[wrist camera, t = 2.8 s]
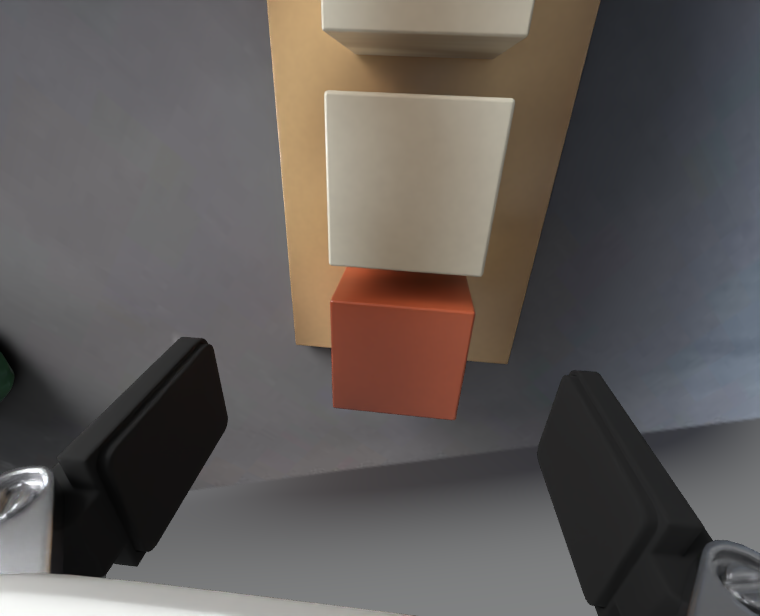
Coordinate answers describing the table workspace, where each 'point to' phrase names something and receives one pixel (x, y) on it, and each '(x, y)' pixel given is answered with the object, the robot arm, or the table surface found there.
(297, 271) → the word board
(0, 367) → the coffee jar
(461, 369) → the orange wooden cube
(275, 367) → the table surface
